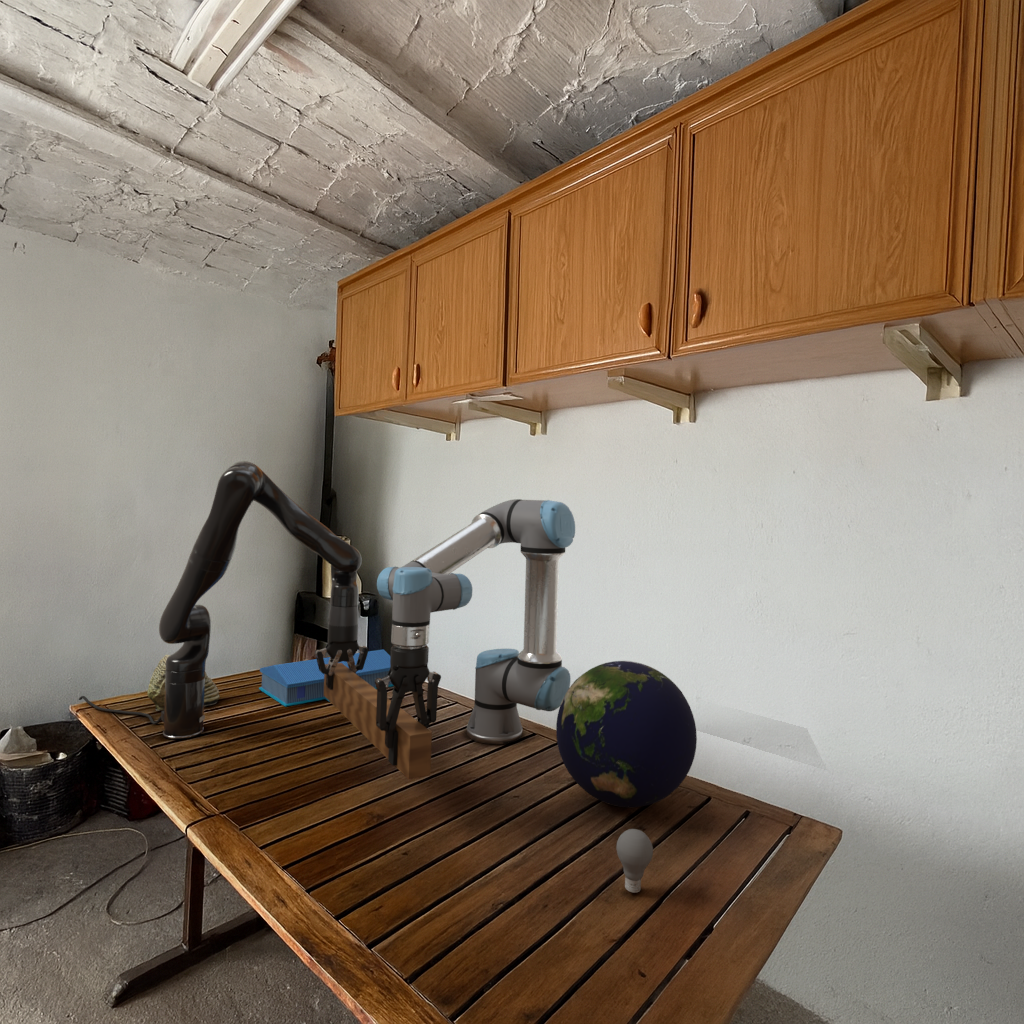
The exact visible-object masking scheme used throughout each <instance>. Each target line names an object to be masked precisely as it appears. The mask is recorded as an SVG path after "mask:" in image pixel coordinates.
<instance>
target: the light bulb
mask: <svg viewBox="0 0 1024 1024" xmlns="http://www.w3.org/2000/svg"><path fill="white" fill-rule="evenodd" d="M615 849H616V854H617V857H618V859H619V861H620V863H621V865H622V867H623V873H624V874H623V875H624V876H625V878H624V888H625V890H627V891H628V892H630V893H634V894H635V893H639V892H640V891H641V889H642V887H641V886H642V879H643V877H644V875H645V871H646V868H647V867H648V866H649V864H650V863H651V861H652V859H653V855H654V847H653V843H652V841H651V838H649V836H648V835H647V834H646V833H645V832H643V831H642V830H641V829H636V828H629V829H627V830H625V831H623V832H622V833H621V834H620V835H619V837H618V839H617V841H616V847H615Z"/></svg>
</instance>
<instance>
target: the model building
mask: <svg viewBox="0 0 1024 1024" xmlns="http://www.w3.org/2000/svg"><path fill="white" fill-rule="evenodd" d="M390 655H391V654H389V653H388V652H387V651H386V650H385V649H376V650H369V651H368V654H367V657H366V661H365V664H364V667H363V669H362V670H359V671H357V672H356V674H357V675H358V676H359V677H361V678H362V679H363V680H365V681H366V682H367V683H368V684H370V685H371V686H372V687H374V688H375V689H376V690H377V688H376V685H375V679H376V678H380V679H381V678H383V677H385V676H387V675H388V672H389V670H390ZM358 657H359V653H358V652H356V653H355V655H354V656H353V658H354V661H355V665H356V664H357V660H358ZM323 659H324V663H325V664H328V662H329V659H330V656H329V657H328V656H327V657H324V658H323ZM338 663H342V664H344V665H345V666H346V667H348V664H347V662H345V661H342V662H338ZM348 668H349V667H348ZM259 672H260V673H261V686H260V687H258V690H260V691H261V692H262V693H264V694H265V695H267V696H268V697H270V698H271V699H273V700H274V701H276V702H277V703H279V704H280V705H282V706H283V707H290V706H297V705H302V704H307V703H312V702H317V701H323V700H325V701H327V702H329V703H331V702H330V701H329V700H328V699H327V698H326V697H325V696H324V674H323V673H321V672H320V671H319V667H318V663H317V659H316V658H315V659H314V658H313V659H307V660H300V661H293V662H287V663H278V664H272V665H268V666H264V667H263V666H262V667H260V668H259ZM390 687H391V688H392V687H394V686H393V684H392V683H391V681H390V682H389V686H388V688H390Z"/></svg>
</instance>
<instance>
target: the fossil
mask: <svg viewBox="0 0 1024 1024" xmlns="http://www.w3.org/2000/svg"><path fill="white" fill-rule="evenodd" d="M170 655H171V654H165V655H164V656H163V657H162V658H161V659H160V660H159V662H158V663H157V666H156V667H155V669H154V670H153V672H152V675H151V677H150V680H149V684H148V688H147V697H148V699H149V700H150V701H152V703H153V704H154V706H155V711H158V712H159V711H160V712H161V711H164V705H165V674H166V660H167V658H168V657H169V656H170ZM220 698H221V696H220V690H219V688H218V686H217V685H216V683H215V682H214V681H213V679H212V678H211V677H209V675H208V674H207V672H206V671H205V693H204V707H207V706H213V705H215V704H217V703H218V701H219V699H220Z"/></svg>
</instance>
